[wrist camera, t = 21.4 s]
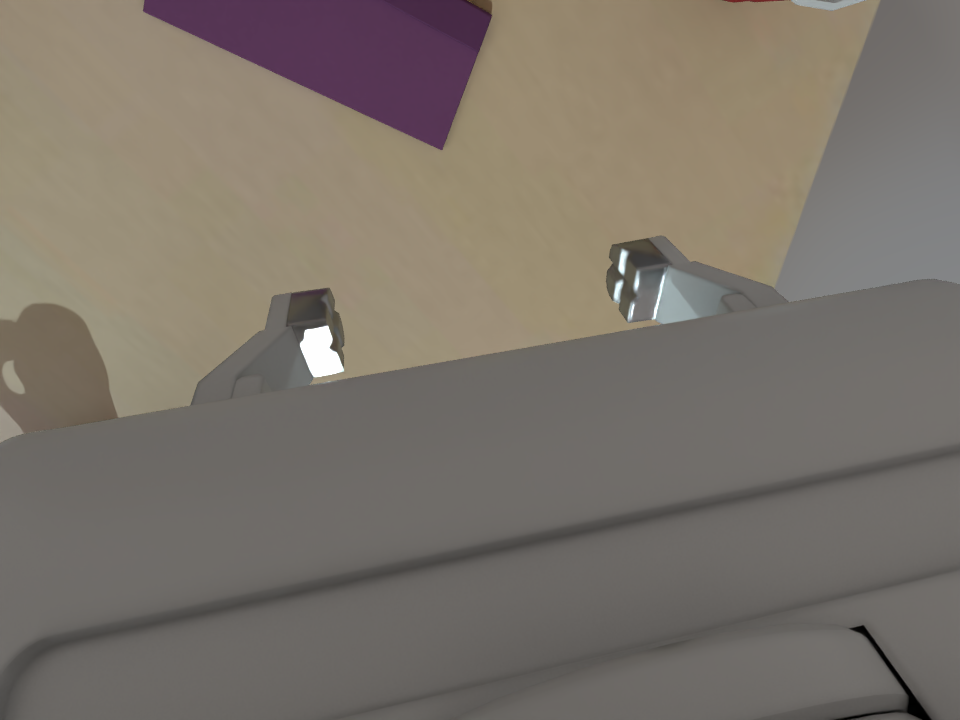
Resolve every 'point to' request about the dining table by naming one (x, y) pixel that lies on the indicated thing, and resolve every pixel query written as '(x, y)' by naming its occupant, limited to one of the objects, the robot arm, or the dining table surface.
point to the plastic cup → (814, 3)
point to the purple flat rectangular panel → (352, 50)
